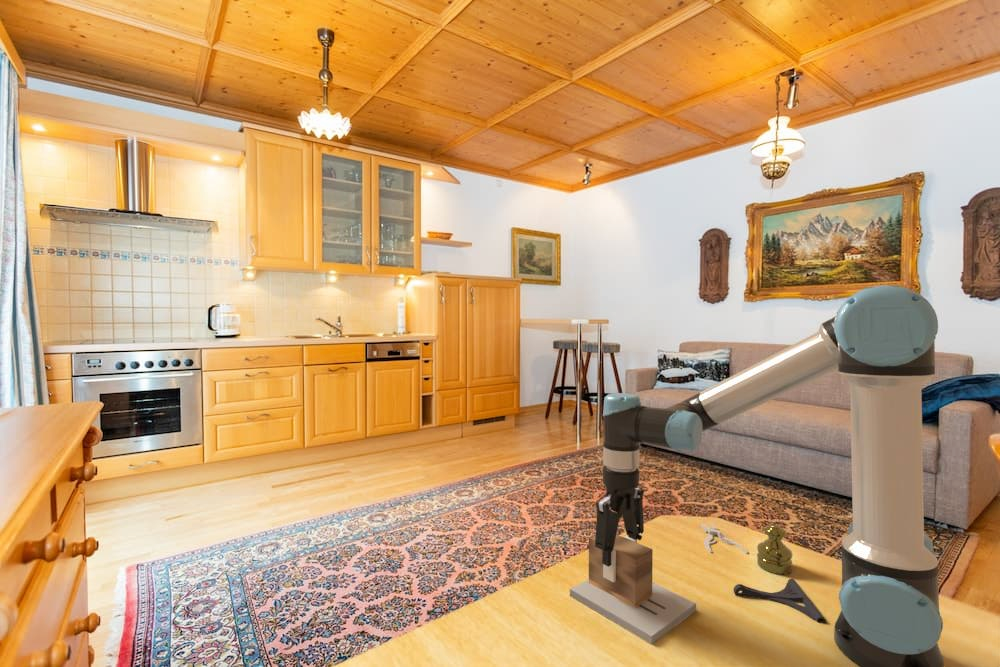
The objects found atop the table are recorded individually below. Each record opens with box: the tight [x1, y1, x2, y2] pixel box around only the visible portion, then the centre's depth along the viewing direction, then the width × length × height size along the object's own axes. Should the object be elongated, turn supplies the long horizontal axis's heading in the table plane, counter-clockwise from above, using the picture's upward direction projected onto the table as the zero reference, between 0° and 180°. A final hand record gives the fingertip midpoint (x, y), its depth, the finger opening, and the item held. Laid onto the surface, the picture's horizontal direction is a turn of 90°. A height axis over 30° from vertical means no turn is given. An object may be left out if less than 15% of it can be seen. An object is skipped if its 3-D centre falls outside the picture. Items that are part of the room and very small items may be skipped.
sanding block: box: [588, 533, 654, 607], centre depth 103 cm, size 12×6×10 cm, turn 40°
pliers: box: [700, 523, 749, 555], centre depth 130 cm, size 10×2×15 cm
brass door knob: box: [756, 524, 794, 575], centre depth 116 cm, size 7×7×10 cm
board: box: [569, 578, 697, 645], centre depth 101 cm, size 20×16×2 cm
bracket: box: [733, 578, 827, 624], centre depth 103 cm, size 14×15×3 cm
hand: (619, 573), depth 103 cm, fingers open, 6 cm apart
